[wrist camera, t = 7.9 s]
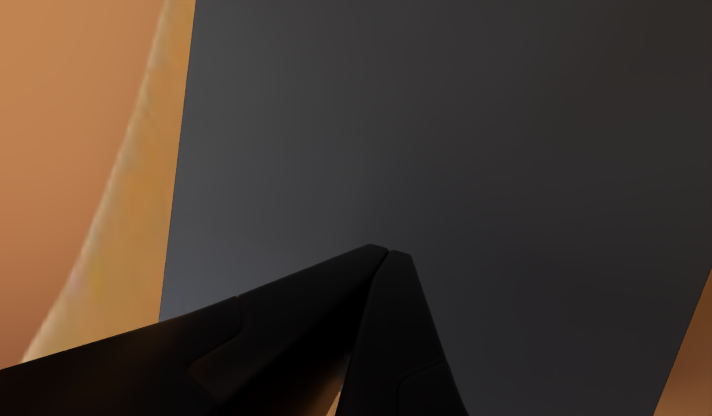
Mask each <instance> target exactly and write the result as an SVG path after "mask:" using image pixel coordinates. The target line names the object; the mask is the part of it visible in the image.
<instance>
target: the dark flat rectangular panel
mask: <svg viewBox="0 0 712 416" xmlns="http://www.w3.org/2000/svg"><path fill="white" fill-rule="evenodd" d="M366 244H375V245H378V246H382V247H386V248H388V250H389V251H390V250H397V251H401V252H404V253H408V254H410V255H411V256H412V259H413V262H414V265H415V268H416V271H417V274H418V276H419V279H420V282H421V285H422V288H423V291H424V294H425V297H426V300H427V303H428V306H429V309H430V312H431V315H432V318H433V321H434V324H435V327H436V330H437V332H438V335H439V338H440V341H441V344H442V347H443V350H444V353H445V356H446V359H447V362H448V363H449V366H450V369H451V372H452V375H453V378H454V381H455V383H456V386H457V388H458V391H459V393H460V396H461V398H462V401H463V404H464V406H465V408H466V410H467V412H468V414H469V416H653V414H654V412H655V409H656V407H657V404H658V402H659V399H660V397H661V394H662V392H663V389H664V387H665V384H666V382H667V379H668V377H669V374H670V372H671V369H672V367H673V364H674V361H675V359H676V356H677V354H678V351H679V349H680V346H681V344H682V341H683V339H684V336H685V334H686V331H687V329H688V326H689V324H690V321H691V319H692V316H693V314H694V311H695V309H696V306H697V304H698V301H699V299H700V296H701V294H702V291H703V288H704V286H705V283H706V281H707V278H708V276H709V273H710V271H711V268H712V0H196V4H195V13H194V21H193V30H192V39H191V47H190V56H189V64H188V73H187V82H186V90H185V99H184V108H183V116H182V125H181V133H180V142H179V151H178V159H177V168H176V177H175V185H174V194H173V202H172V211H171V220H170V228H169V237H168V246H167V254H166V263H165V271H164V280H163V289H162V297H161V306H160V315H159V322H162V321H165V320H168V319H171V318H175V317H178V316H181V315H184V314H187V313H190V312H193V311H196V310H198V309H201V308H204V307H206V306H209V305H212V304H215V303H217V302H220V301H222V300H225V299H228V298H230V297H233V296H237V297H238V295H240V294H242V293H245V292H247V291H250V290H252V289H255V288H257V287H260V286H262V285H265V284H268V283H270V282H273V281H275V280H278V279H280V278H283V277H285V276H288V275H290V274H293V273H295V272H298V271H300V270H303V269H306V268H308V267H311V266H313V265H316V264H318V263H321V262H323V261H326V260H328V259H331V258H333V257H336V256H338V255H341V254H343V253H346V252H349V251H351V250H354V249H356V248H359V247H361V246H364V245H366ZM342 387H343V385H342ZM342 387H341V389H340V392H341V391H342Z"/></svg>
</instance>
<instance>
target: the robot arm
mask: <svg viewBox="0 0 712 416" xmlns="http://www.w3.org/2000/svg"><path fill="white" fill-rule="evenodd" d="M342 385H343V387H342ZM341 387H342V391H341V395H340V398H339V402H338V406H337V409H336V413H335V416H469V414H468V412H467V410H466V408H465V406H464V404H463V401H462V398H461V396H460V393H459V391H458V388H457V386H456V383H455V381H454V378H453V375H452V372H451V369H450V366H449V363H448V362H447V359H446V356H445V353H444V350H443V347H442V344H441V341H440V338H439V335H438V332H437V330H436V327H435V324H434V321H433V318H432V315H431V312H430V309H429V306H428V303H427V300H426V297H425V294H424V291H423V288H422V285H421V282H420V279H419V276H418V274H417V271H416V268H415V265H414V262H413V259H412V256H411V255H410V254H408V253H404V252H401V251H397V250H390V251H389V250H388V248H386V247H382V246H378V245H375V244H366V245H364V246H361V247H359V248H356V249H354V250H351V251H349V252H346V253H343V254H341V255H338V256H336V257H333V258H331V259H328V260H326V261H323V262H321V263H318V264H316V265H313V266H311V267H308V268H306V269H303V270H300V271H298V272H295V273H293V274H290V275H288V276H285V277H283V278H280V279H278V280H275V281H273V282H270V283H268V284H265V285H262V286H260V287H257V288H255V289H252V290H250V291H247V292H245V293H242V294H240V295H238V297H237V296H233V297H230V298H228V299H225V300H222V301H220V302H217V303H215V304H212V305H209V306H206V307H204V308H201V309H198V310H196V311H193V312H190V313H187V314H184V315H181V316H178V317H175V318H171V319H168V320H165V321H162V322H159V323H156V324H152V325H149V326H146V327H142V328H139V329H136V330H132V331H129V332H126V333H122V334H119V335H116V336H112V337H109V338H105V339H102V340H99V341H95V342H92V343H89V344H85V345H82V346H79V347H75V348H72V349H69V350H65V351H62V352H58V353H55V354H52V355H48V356H45V357H42V358H38V359H35V360H32V361H28V362H25V363H22V364H18V365H15V366H12V367H8V368H5V369H1V370H0V416H326V415H327V413H328V411H329V409H330V407H331V405H332V404H333V402H334V400H335V398H336V396H337V394H338V392H339V391H340V389H341Z"/></svg>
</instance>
